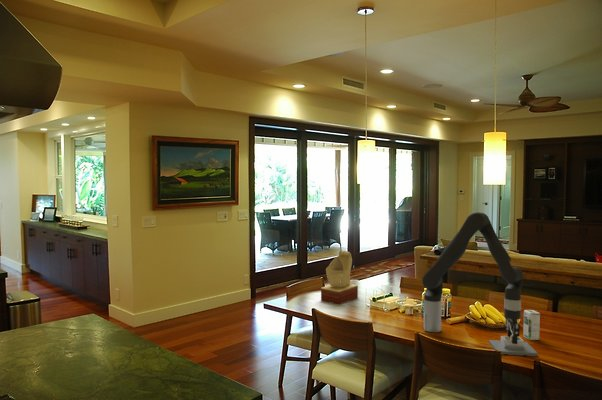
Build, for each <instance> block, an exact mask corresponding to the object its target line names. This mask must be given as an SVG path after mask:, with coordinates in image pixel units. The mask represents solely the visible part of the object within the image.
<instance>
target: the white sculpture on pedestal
mask: <svg viewBox="0 0 602 400" xmlns="http://www.w3.org/2000/svg"><path fill="white" fill-rule="evenodd" d="M352 257H353V256H352V253H351V252H350V251H347V250H342V248H341V249H340V250H339V251H338V256H336V257H335V258H334V259H332V261H331V262H330V264H329V265H328V266H327V267H326V268H325V274H326V278H327V282H328V284H329V285H326V286H322V287H320V301H322V302H327V303H332V304H335V305H336V304H337V305H340V304H341V305H342V304H344V303H347V302H349V301H350V302H351V301H352V300H355V299H358V297H359V293H358V289H359V287H358V285H359V284H358V285H357V284H351V270H352V265H353V258H352Z"/></svg>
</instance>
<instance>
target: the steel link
mask: <svg viewBox="0 0 602 400" xmlns="http://www.w3.org/2000/svg"><path fill="white" fill-rule="evenodd" d="M500 341H501V345H502V346H503V347H504V348H513V349H524V342H525V340H523V338H522V337H521V336H517V344H513V343H512V340H511V339H510V336H507V335H500Z"/></svg>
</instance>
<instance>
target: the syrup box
mask: <svg viewBox="0 0 602 400" xmlns="http://www.w3.org/2000/svg"><path fill="white" fill-rule="evenodd" d="M540 317H541V313H540V312H538V311H536V310H533V309H524V310H523V332H522V333H523V334H522V335H523V337H524V338H525V339H527V340H529V341H536V340H537V341H538V340H539V341H540V325H541V324H540V322H541V319H540Z"/></svg>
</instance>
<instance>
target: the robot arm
mask: <svg viewBox="0 0 602 400" xmlns="http://www.w3.org/2000/svg"><path fill="white" fill-rule="evenodd" d="M463 222H464V223H463V224H462V226H461V227H460V228H459V230H458V231H457V233H456V234H455V235H454V236H453V238H452V239H451V240H450V242H449V243H447V245H446V247H445V248H444V249H443V251H442V252H441V254H440V255H438V258H437V259H436V261H435V262H434V264H433V265H432V266H431V267H430V268H429V270H428V271H426V273H424V274H423V276H422V278H421V280H422V281H421V282H422V286H423V287H424V288H426V289H425V291H424V296H423V330H424V331H425V332H429V333H440V332H441V331H442V295H443V290H444V289H443V286H444V285H443V284H444V279H443V276H444V275H445V274H446V273H447V272H448V271H449V270H450V269H451V268H452V267H453V266H455V264H457V262H459V260H461V258H462V256H463V255H464V254H465V253H466V251H467V248H468V245H469V242H470V241H471V239H472V238H473V236H474V235H475V234H476V233H477V232H478V231H479V233H480V234H481V235H482V237H483V238H484V239H485V242H486V245H487V248H488V250H489V253H490V255H491V257H492V258H493V259H494V261H495V263H496V264H497V267H498V269H499V274H500V275H501V277H502V279H503V280H504V281H505V282H507V286H506V287H505V289H504V301H503V302H504V304H503V305H504V306H503V316H504V317H505V329H506V332H507V334H506V336H511V335H512V343H513V344H517V337H520V334H521V333H520V326H521V324H519V323H518V320H520V319H521V318H522V300H521V299H522V298H521V294H522V293H521V292H522V291H521V289H522V287H523V283H524V282H523V281H524V273H523V270H522V269H521V268H520V267H517V266H514V267H513V266H512V264H511V262H512V258H511V255H510V254H509V253H508V251H507V249H506V248H505V247H504V245H503V244H502V242H501V241H500V239H499V237H498V236H497V235H498V234H497V233H496V232H495V229H494V227H493V225H492V222H491V221H490V218H489V216H488V215H487V214H486V213H484V212H479V211H474V212H472V213H470V214H469V215H468V216H467V217H466V219H465V220H464V221H463Z"/></svg>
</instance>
